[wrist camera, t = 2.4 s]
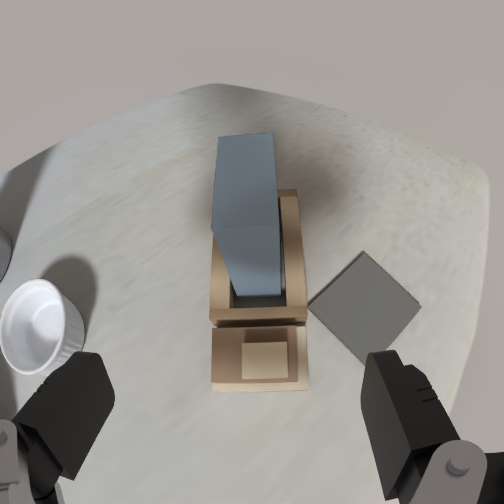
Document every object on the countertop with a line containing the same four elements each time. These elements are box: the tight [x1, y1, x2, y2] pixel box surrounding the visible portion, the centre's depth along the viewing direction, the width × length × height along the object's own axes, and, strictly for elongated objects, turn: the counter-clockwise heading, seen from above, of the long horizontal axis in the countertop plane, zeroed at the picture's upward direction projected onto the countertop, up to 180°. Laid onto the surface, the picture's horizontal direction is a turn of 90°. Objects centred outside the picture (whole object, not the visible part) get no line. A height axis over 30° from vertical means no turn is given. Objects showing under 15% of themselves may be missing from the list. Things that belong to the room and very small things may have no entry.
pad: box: [308, 253, 421, 366], centre depth 25 cm, size 7×7×1 cm
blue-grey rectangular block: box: [211, 133, 281, 298], centre depth 23 cm, size 7×4×11 cm, turn 1°
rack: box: [209, 189, 308, 392], centre depth 25 cm, size 17×7×4 cm, turn 1°
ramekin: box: [0, 279, 85, 376], centre depth 24 cm, size 9×9×4 cm
